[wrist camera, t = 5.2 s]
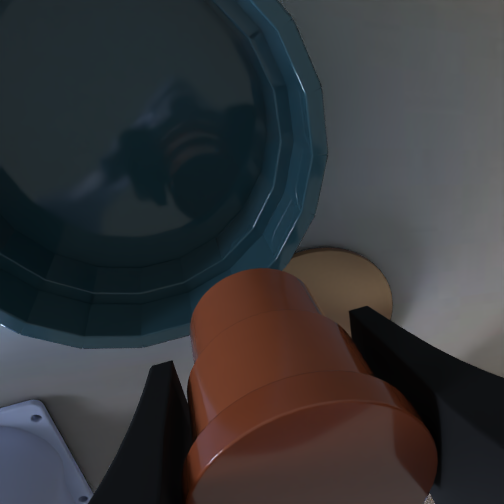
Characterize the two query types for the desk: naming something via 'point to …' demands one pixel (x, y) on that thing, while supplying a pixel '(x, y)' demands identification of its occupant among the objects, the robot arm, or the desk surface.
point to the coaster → (342, 282)
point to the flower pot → (293, 406)
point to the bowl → (148, 160)
